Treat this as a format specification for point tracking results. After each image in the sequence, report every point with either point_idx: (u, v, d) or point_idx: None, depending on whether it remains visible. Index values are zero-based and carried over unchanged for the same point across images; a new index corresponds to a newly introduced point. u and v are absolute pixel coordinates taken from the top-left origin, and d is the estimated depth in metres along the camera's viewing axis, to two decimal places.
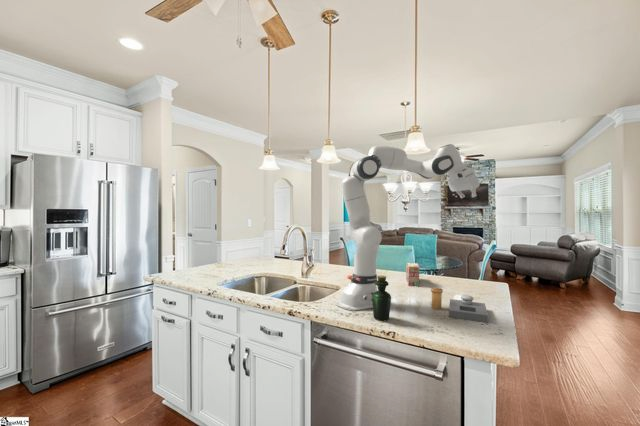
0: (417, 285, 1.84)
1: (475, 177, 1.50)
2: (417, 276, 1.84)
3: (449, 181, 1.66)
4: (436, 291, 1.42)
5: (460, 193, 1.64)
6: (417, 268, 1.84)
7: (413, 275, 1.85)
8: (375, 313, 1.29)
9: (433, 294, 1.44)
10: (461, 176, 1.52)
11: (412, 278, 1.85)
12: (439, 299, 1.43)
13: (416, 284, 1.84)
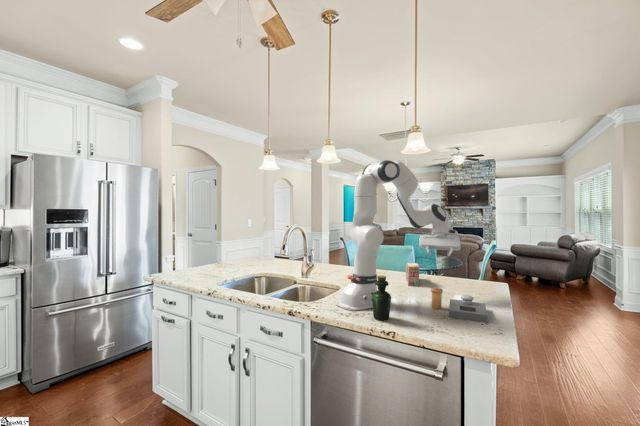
0: (417, 285, 1.85)
1: None
2: (417, 276, 1.84)
3: (425, 235, 1.64)
4: (436, 291, 1.42)
5: None
6: (417, 268, 1.84)
7: (412, 275, 1.85)
8: (375, 313, 1.29)
9: (433, 294, 1.44)
10: (453, 232, 1.59)
11: (412, 278, 1.85)
12: (439, 299, 1.43)
13: (416, 284, 1.85)
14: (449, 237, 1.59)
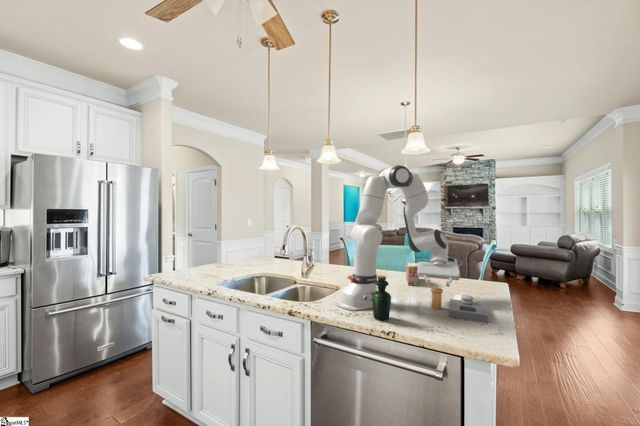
0: (417, 285, 1.85)
1: None
2: (417, 276, 1.85)
3: (423, 263, 1.59)
4: (436, 291, 1.42)
5: None
6: (417, 268, 1.85)
7: (412, 275, 1.85)
8: (375, 313, 1.29)
9: (433, 294, 1.44)
10: (452, 260, 1.53)
11: (412, 278, 1.85)
12: (439, 299, 1.43)
13: (416, 284, 1.85)
14: (448, 266, 1.53)
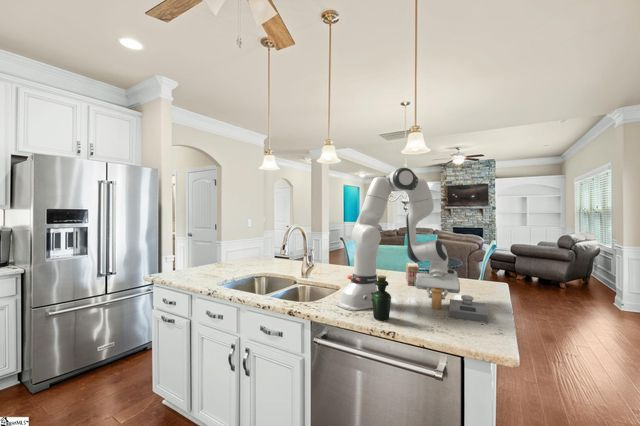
0: None
1: None
2: None
3: (422, 275, 1.53)
4: (436, 291, 1.42)
5: None
6: (417, 268, 1.85)
7: (412, 275, 1.86)
8: (375, 313, 1.29)
9: (433, 294, 1.44)
10: (452, 272, 1.47)
11: (412, 278, 1.86)
12: (439, 299, 1.43)
13: None
14: (448, 278, 1.48)
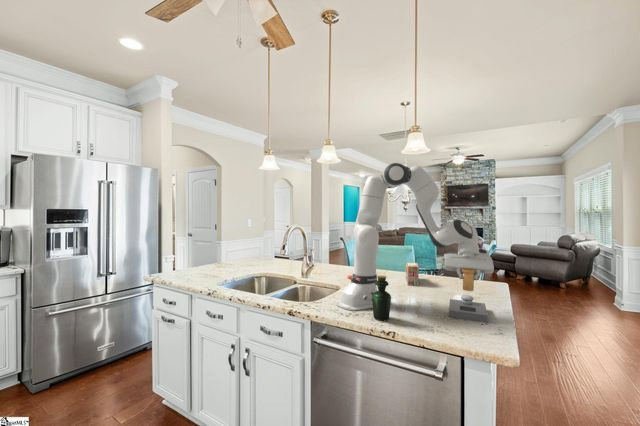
0: (416, 285, 1.85)
1: None
2: (416, 276, 1.85)
3: (451, 255, 1.43)
4: (468, 271, 1.32)
5: None
6: (416, 268, 1.85)
7: (412, 275, 1.86)
8: (375, 313, 1.29)
9: (465, 275, 1.34)
10: (484, 252, 1.37)
11: (411, 278, 1.86)
12: (471, 280, 1.33)
13: (415, 284, 1.86)
14: (479, 258, 1.37)
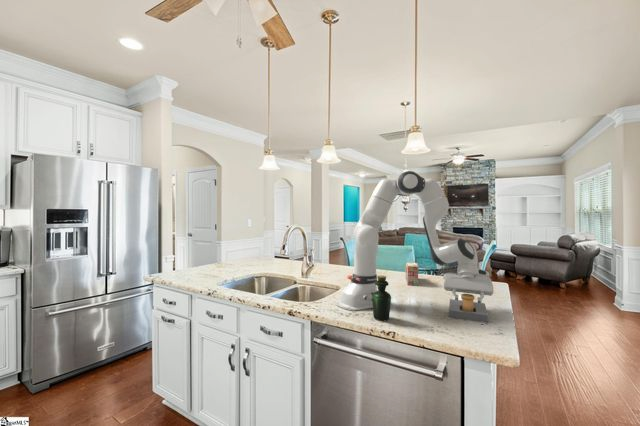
0: (416, 284, 1.86)
1: None
2: (416, 275, 1.86)
3: (450, 275, 1.43)
4: (468, 298, 1.32)
5: None
6: (416, 268, 1.86)
7: (412, 275, 1.86)
8: (375, 313, 1.29)
9: (464, 301, 1.34)
10: (484, 273, 1.37)
11: (411, 278, 1.86)
12: (471, 306, 1.33)
13: (415, 283, 1.86)
14: (479, 279, 1.37)
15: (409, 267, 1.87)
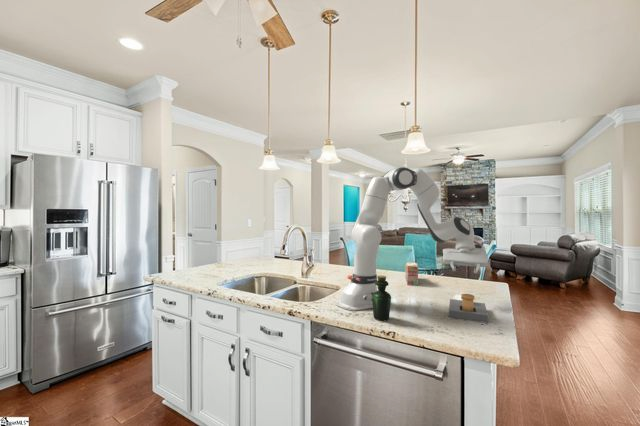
0: (416, 284, 1.86)
1: None
2: (416, 275, 1.86)
3: (449, 250, 1.55)
4: (468, 298, 1.32)
5: None
6: (416, 267, 1.86)
7: (411, 275, 1.87)
8: (375, 313, 1.29)
9: (464, 301, 1.34)
10: (479, 247, 1.50)
11: (411, 278, 1.87)
12: (471, 306, 1.33)
13: (415, 283, 1.86)
14: (475, 252, 1.50)
15: (409, 267, 1.87)
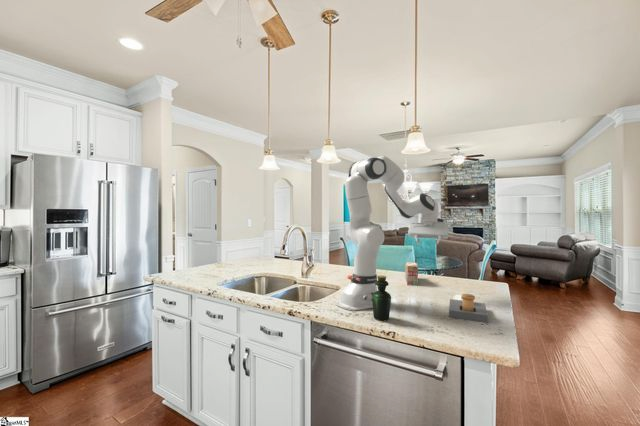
0: (416, 284, 1.87)
1: None
2: (416, 275, 1.86)
3: (414, 224, 1.66)
4: (468, 298, 1.32)
5: None
6: (416, 267, 1.86)
7: (411, 275, 1.87)
8: (375, 313, 1.29)
9: (464, 301, 1.34)
10: (441, 221, 1.61)
11: (411, 278, 1.87)
12: (471, 306, 1.33)
13: (415, 283, 1.87)
14: (437, 226, 1.61)
15: (409, 267, 1.87)
